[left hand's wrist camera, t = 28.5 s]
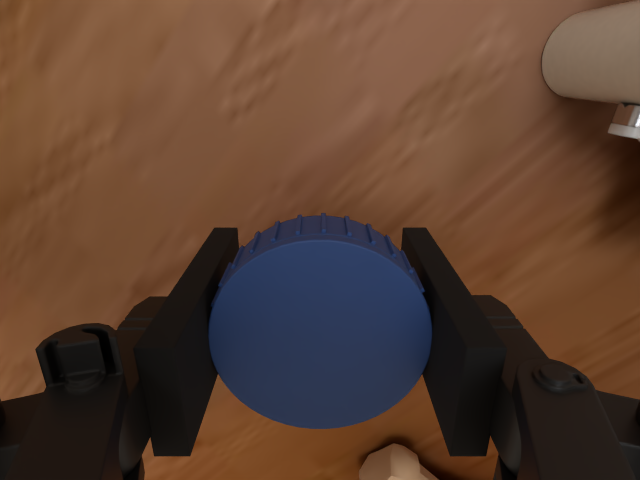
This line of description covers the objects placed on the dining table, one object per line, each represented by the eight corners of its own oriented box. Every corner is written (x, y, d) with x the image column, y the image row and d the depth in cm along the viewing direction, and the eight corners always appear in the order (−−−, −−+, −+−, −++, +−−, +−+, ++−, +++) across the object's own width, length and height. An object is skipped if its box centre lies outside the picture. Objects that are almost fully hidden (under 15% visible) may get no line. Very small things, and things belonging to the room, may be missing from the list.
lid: (180, 313, 12) (158, 351, 10) (311, 166, 10) (310, 184, 9) (326, 415, 13) (327, 463, 12) (461, 300, 12) (484, 336, 10)
